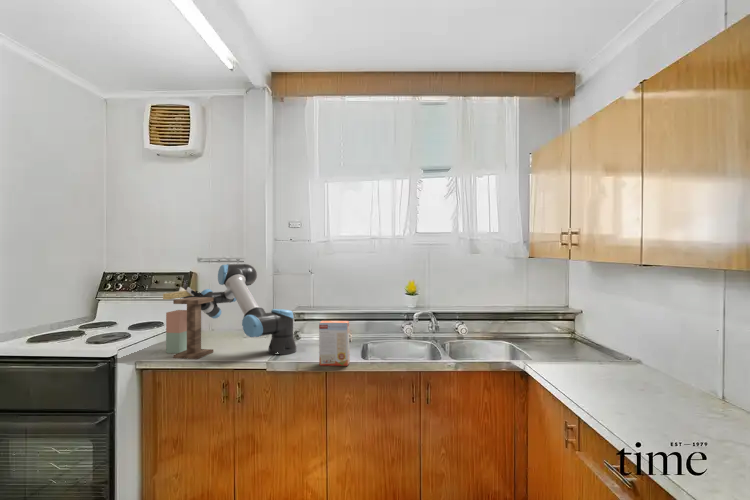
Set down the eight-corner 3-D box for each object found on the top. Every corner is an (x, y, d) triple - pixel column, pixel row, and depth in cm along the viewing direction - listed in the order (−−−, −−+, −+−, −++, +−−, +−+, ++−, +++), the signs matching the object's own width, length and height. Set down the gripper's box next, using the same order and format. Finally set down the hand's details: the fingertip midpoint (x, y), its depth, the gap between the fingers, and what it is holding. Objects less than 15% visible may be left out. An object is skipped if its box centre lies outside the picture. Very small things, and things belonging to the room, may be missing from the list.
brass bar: (195, 294, 230) (195, 289, 230) (169, 299, 209) (169, 293, 209) (189, 294, 231) (189, 289, 231) (163, 299, 209) (163, 293, 209)
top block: (190, 329, 223) (190, 310, 223) (179, 333, 213) (179, 312, 213) (178, 329, 224) (178, 309, 224) (166, 332, 214) (166, 312, 214)
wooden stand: (213, 352, 215) (213, 297, 215) (197, 358, 201) (198, 300, 202) (190, 351, 217) (190, 297, 218) (173, 357, 203) (173, 300, 204)
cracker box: (349, 363, 193) (349, 320, 193) (347, 366, 187) (347, 322, 187) (321, 362, 194) (321, 320, 195) (318, 365, 188) (318, 322, 189)
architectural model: (349, 343, 237) (349, 331, 237) (339, 342, 239) (339, 330, 239) (352, 342, 240) (352, 330, 240) (341, 341, 243) (341, 329, 243)
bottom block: (190, 348, 223) (190, 329, 223) (179, 353, 213) (179, 333, 213) (178, 348, 224) (178, 329, 224) (166, 352, 214) (166, 332, 214)
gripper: (215, 310, 240) (195, 295, 220) (190, 310, 243) (167, 294, 223) (219, 299, 243) (199, 283, 224) (194, 298, 246) (172, 282, 226)
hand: (183, 289), depth 223 cm, fingers closed on brass bar, 4 cm apart
